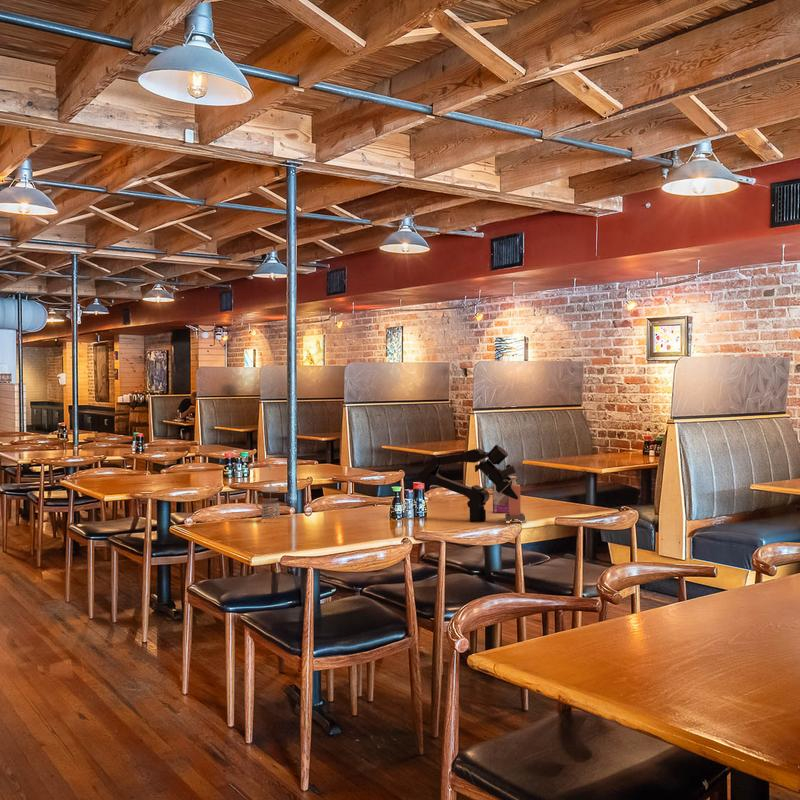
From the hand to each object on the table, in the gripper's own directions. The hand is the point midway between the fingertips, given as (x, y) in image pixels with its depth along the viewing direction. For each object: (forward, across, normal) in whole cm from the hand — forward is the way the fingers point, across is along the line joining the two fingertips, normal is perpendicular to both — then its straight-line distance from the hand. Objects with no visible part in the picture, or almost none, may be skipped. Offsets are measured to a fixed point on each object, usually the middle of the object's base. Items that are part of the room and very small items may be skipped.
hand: (517, 498), depth 354 cm
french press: (-69, -5, +85) cm, 110 cm away
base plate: (+6, 0, +8) cm, 10 cm away
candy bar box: (+2, +27, +12) cm, 30 cm away
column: (+4, 0, +6) cm, 8 cm away
